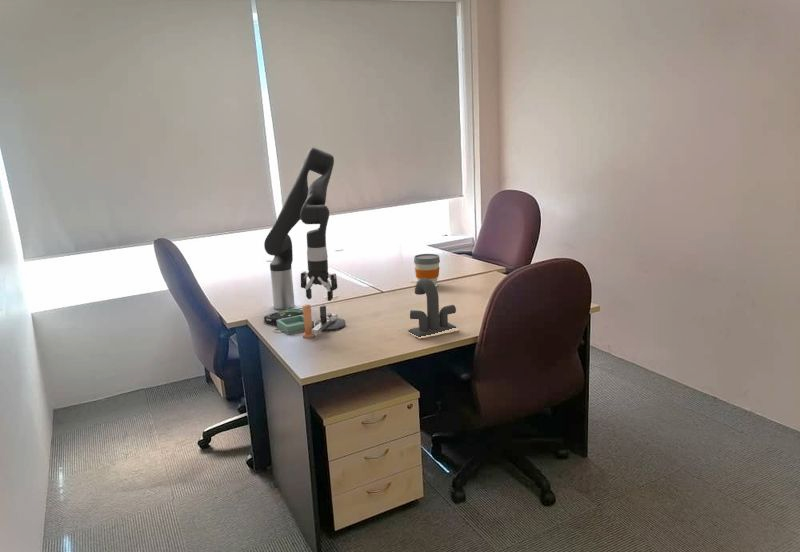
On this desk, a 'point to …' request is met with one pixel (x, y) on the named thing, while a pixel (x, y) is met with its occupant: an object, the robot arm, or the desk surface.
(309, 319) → the stop peg
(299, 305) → the desk surface
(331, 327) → the crank base
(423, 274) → the reusable coffee cup
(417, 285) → the faucet
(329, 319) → the crank
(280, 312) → the disk drive
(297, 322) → the tray
